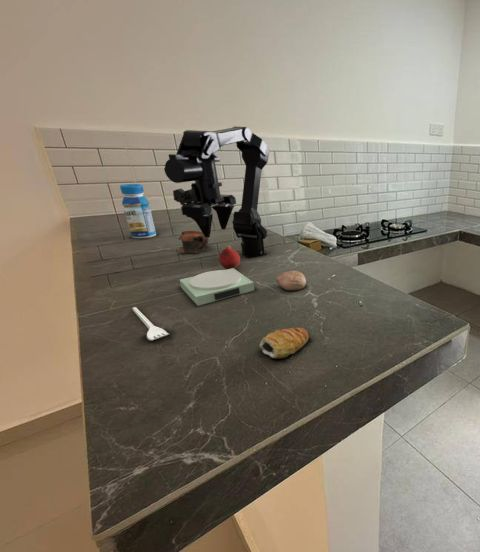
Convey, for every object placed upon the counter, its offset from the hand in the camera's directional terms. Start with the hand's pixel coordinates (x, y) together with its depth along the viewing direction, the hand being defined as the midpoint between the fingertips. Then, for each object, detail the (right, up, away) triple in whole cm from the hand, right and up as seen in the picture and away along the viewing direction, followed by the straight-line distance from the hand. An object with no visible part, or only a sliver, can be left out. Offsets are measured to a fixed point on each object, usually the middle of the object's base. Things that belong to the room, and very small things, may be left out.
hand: (215, 233), depth 97 cm
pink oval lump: (+24, -16, -4) cm, 29 cm away
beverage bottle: (-48, +3, +33) cm, 59 cm away
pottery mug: (-19, -4, +21) cm, 28 cm away
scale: (+5, -17, -8) cm, 19 cm away
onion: (+2, -11, +5) cm, 12 cm away
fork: (0, -24, -26) cm, 36 cm away
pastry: (+32, -28, -31) cm, 52 cm away
